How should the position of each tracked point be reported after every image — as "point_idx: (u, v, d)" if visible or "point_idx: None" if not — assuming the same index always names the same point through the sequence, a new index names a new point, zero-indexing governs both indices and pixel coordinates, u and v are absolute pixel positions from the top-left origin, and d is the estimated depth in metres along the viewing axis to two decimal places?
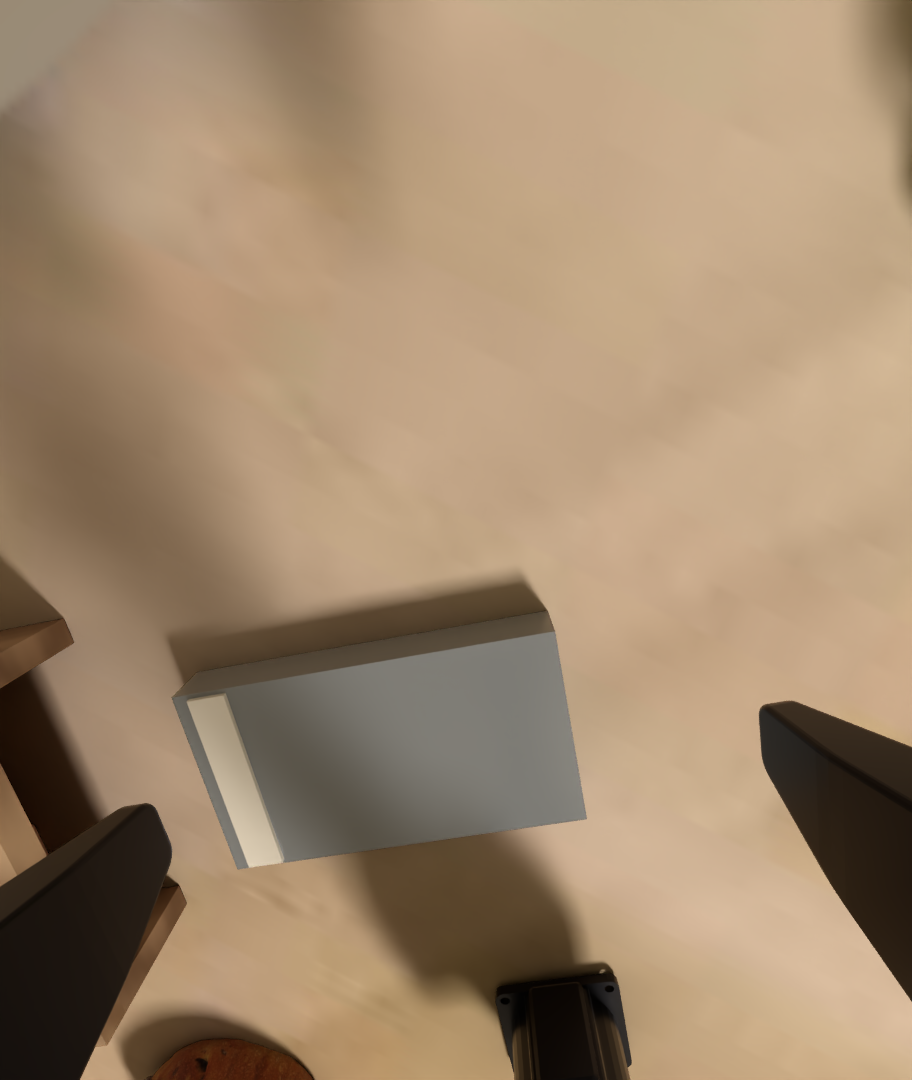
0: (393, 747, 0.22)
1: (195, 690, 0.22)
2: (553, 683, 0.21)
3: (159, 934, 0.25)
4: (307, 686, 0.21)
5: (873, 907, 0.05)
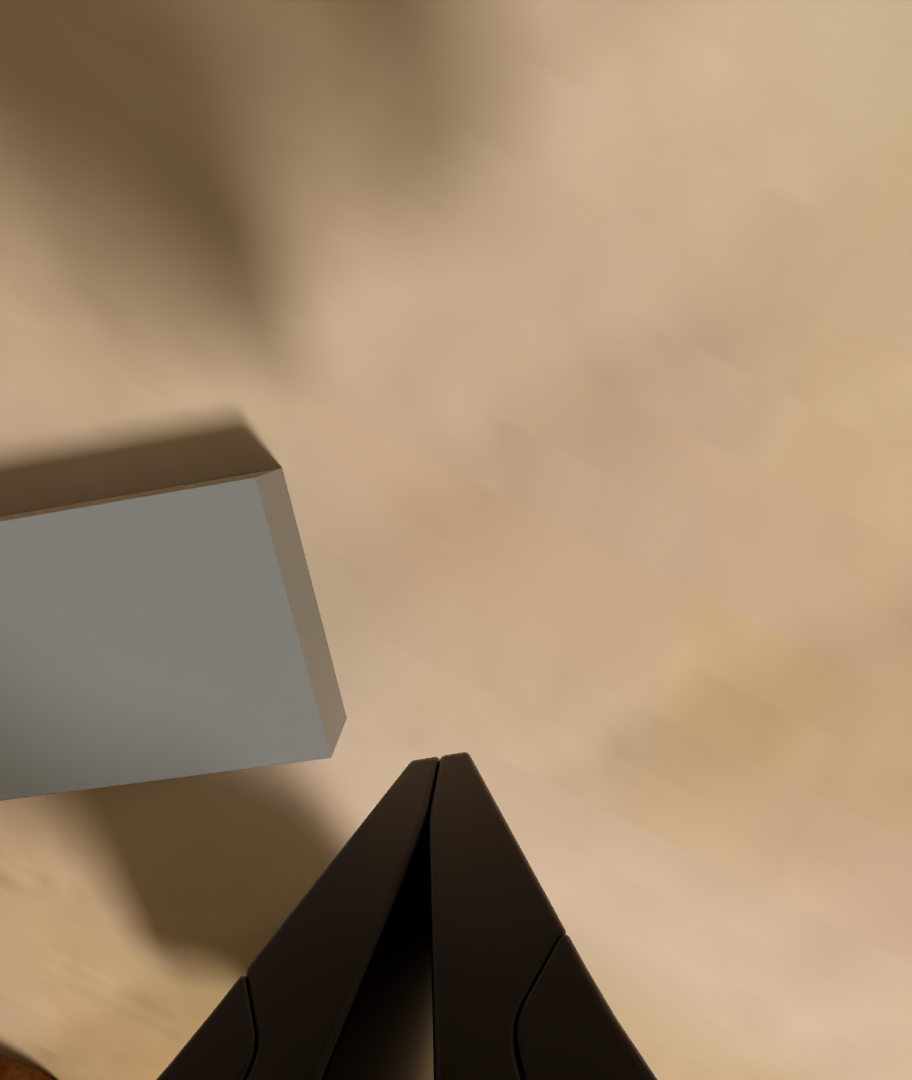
0: (54, 647, 0.16)
1: None
2: (261, 557, 0.15)
3: None
4: None
5: None
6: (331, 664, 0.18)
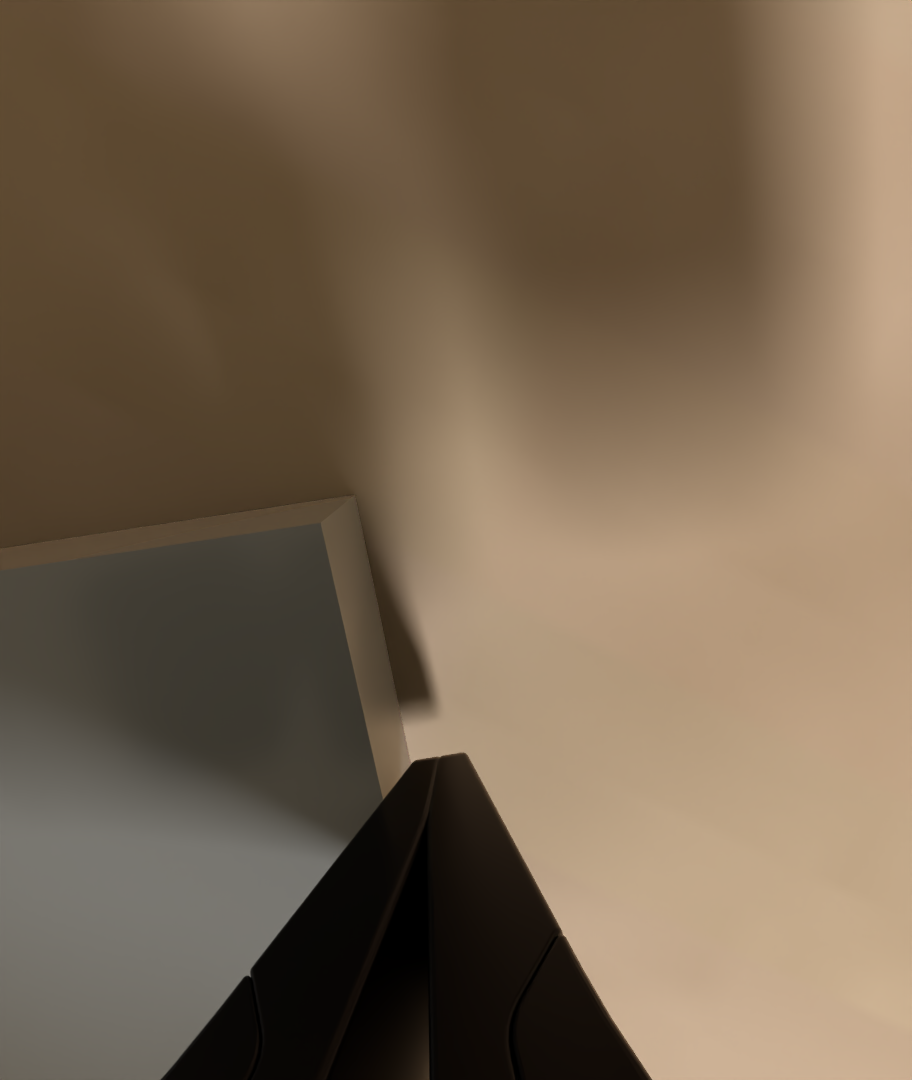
0: None
1: None
2: (327, 703, 0.06)
3: None
4: None
5: None
6: None
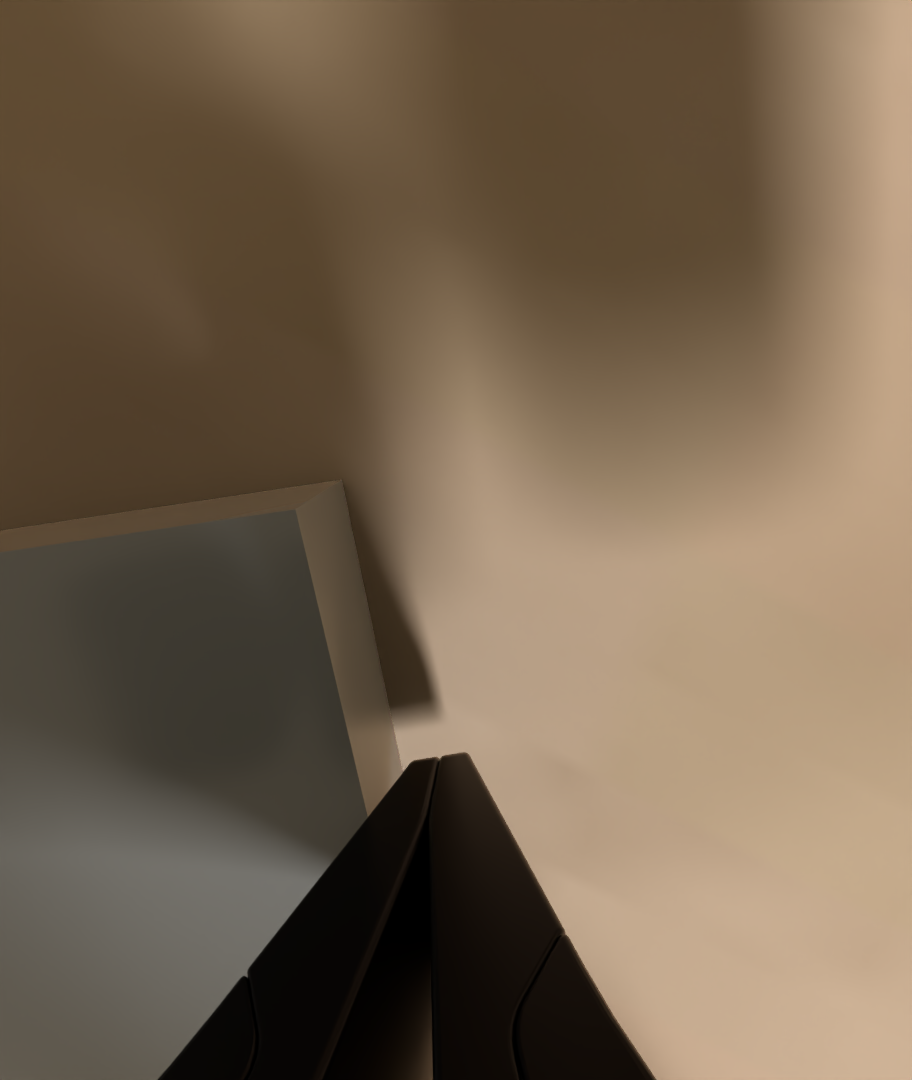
0: None
1: None
2: (304, 698, 0.06)
3: None
4: None
5: None
6: None
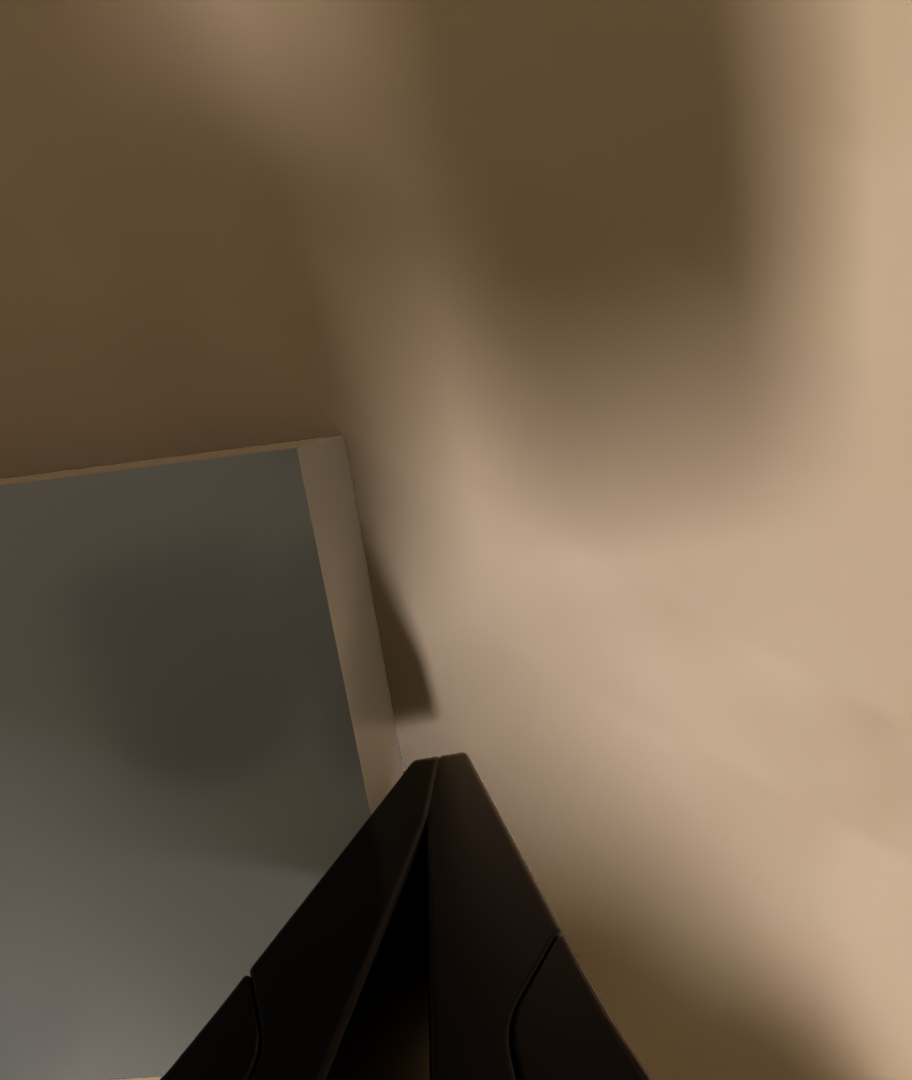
0: None
1: None
2: (300, 647, 0.06)
3: None
4: None
5: None
6: None
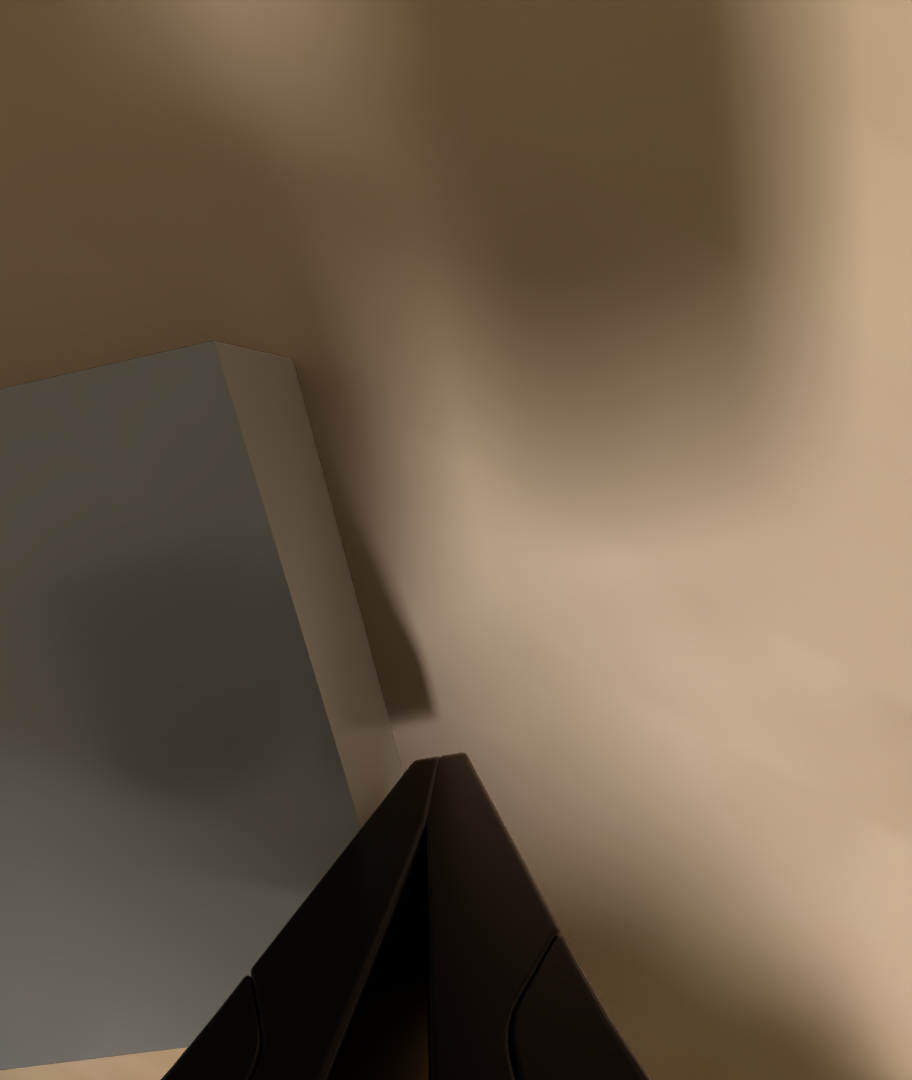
0: None
1: None
2: (243, 568, 0.06)
3: None
4: None
5: None
6: None
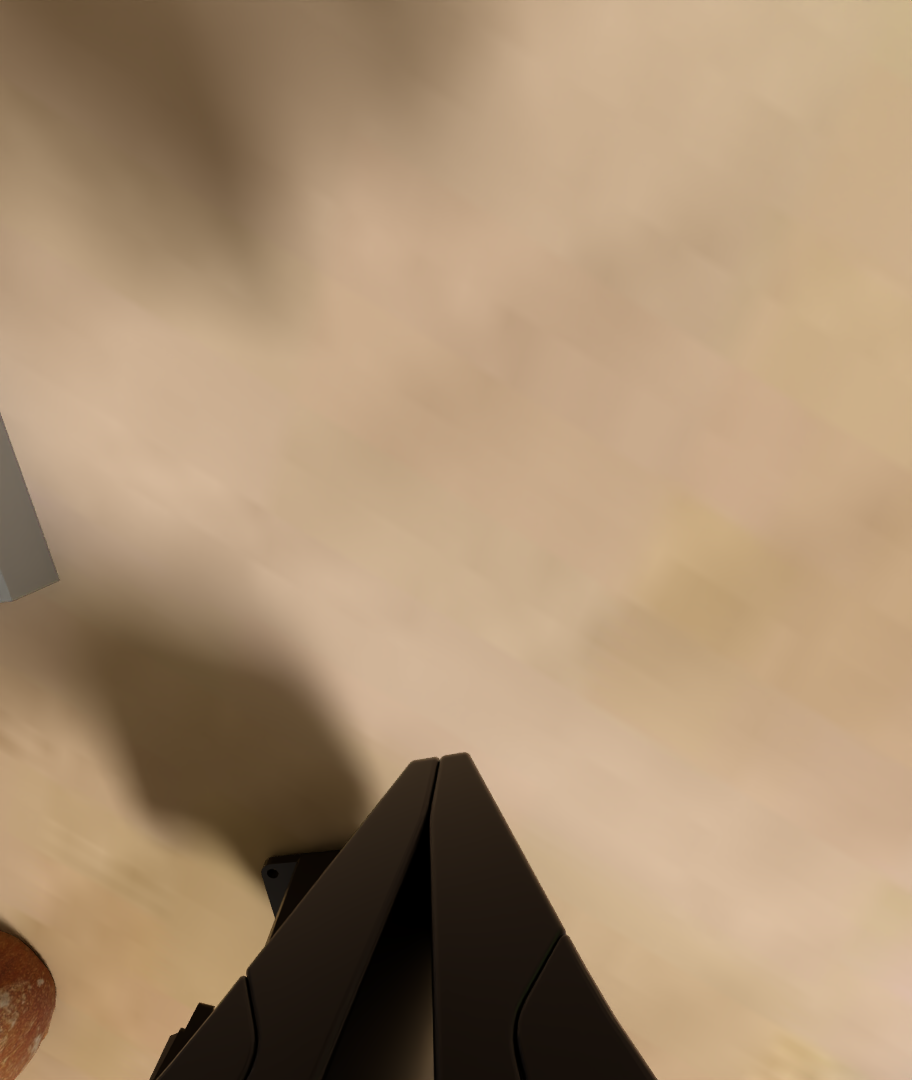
0: None
1: None
2: None
3: None
4: None
5: None
6: (36, 525, 0.19)
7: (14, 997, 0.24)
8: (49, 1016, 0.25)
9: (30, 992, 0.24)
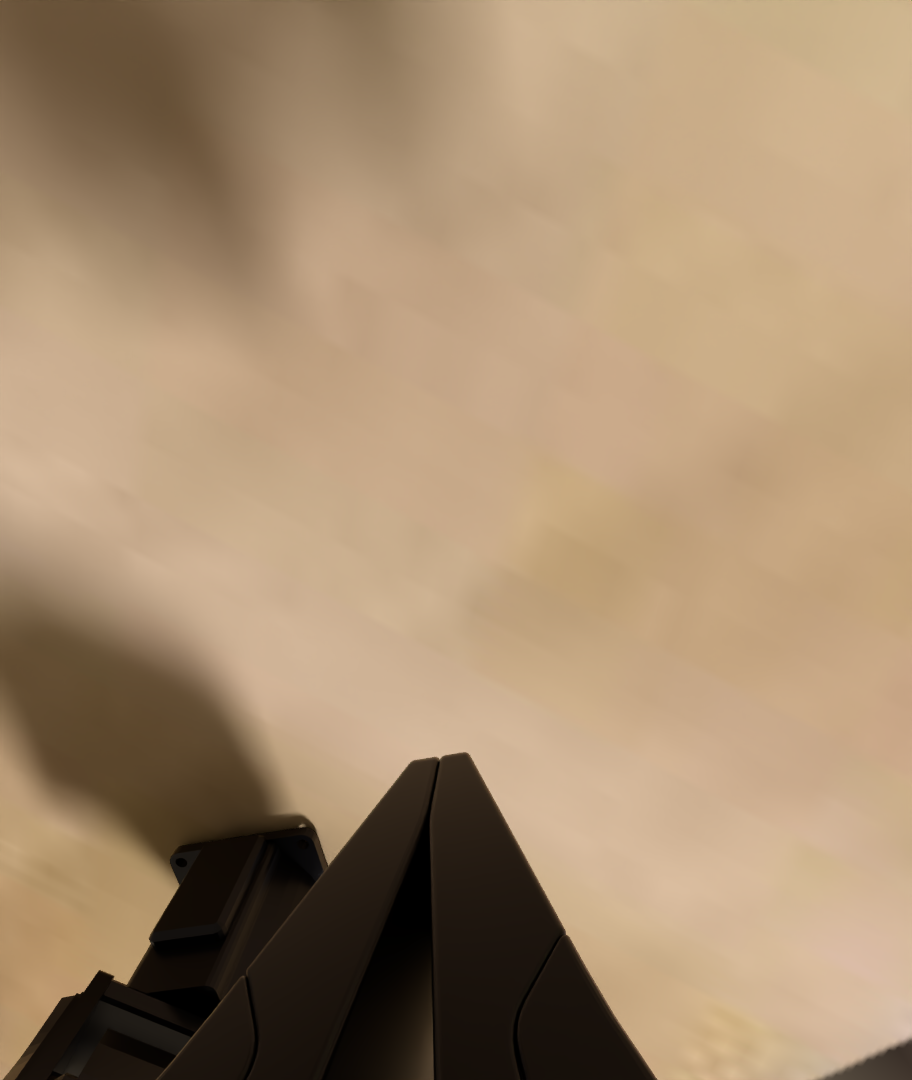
0: None
1: None
2: None
3: None
4: None
5: None
6: None
7: None
8: None
9: None
